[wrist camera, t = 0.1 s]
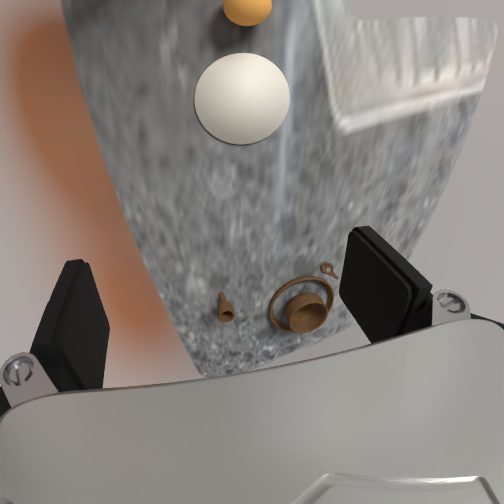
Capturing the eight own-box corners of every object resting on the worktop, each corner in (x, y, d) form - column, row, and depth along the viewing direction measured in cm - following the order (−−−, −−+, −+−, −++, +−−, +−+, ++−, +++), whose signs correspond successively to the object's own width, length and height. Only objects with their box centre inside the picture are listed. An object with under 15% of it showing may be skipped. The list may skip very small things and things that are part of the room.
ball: (219, -10, 28) (226, -23, 24) (264, -8, 29) (277, -20, 25) (219, 29, 31) (226, 21, 26) (264, 29, 32) (278, 23, 27)
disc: (193, 54, 32) (193, 54, 32) (289, 54, 34) (290, 54, 34) (196, 147, 38) (196, 147, 38) (288, 142, 41) (288, 142, 40)
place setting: (282, 343, 61) (292, 365, 56) (206, 295, 51) (210, 320, 46) (351, 284, 57) (366, 304, 52) (286, 219, 47) (300, 238, 42)
